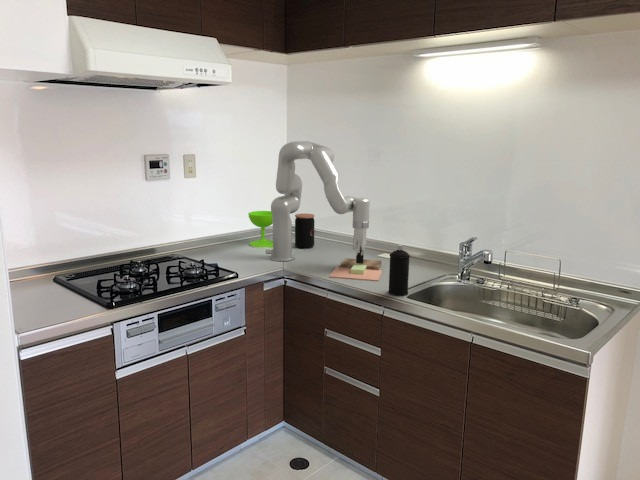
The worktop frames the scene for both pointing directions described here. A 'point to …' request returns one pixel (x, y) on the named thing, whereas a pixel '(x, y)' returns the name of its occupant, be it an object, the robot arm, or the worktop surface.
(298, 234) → the coffee jar
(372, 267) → the plate
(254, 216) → the wineglass
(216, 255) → the worktop surface
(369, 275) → the mat
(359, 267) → the sponge
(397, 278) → the aerosol can
